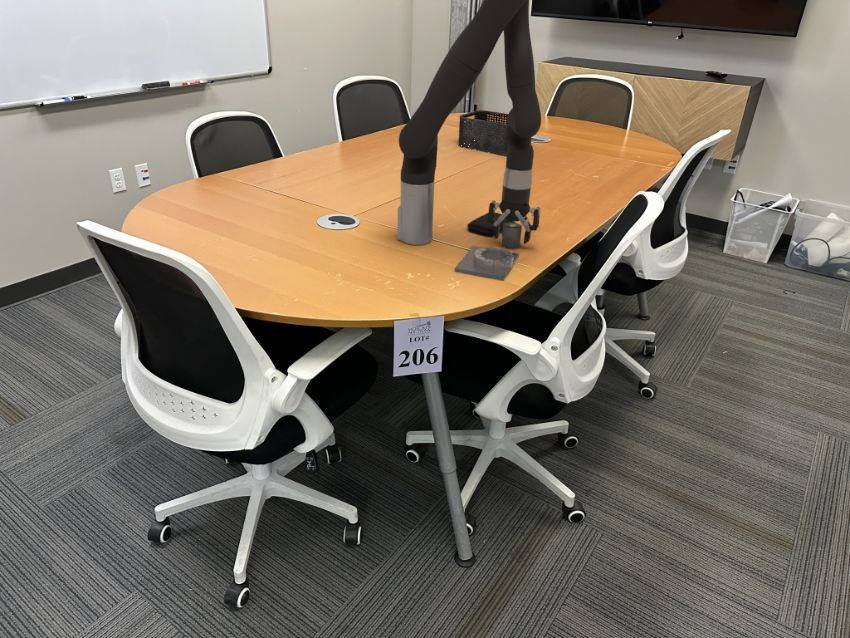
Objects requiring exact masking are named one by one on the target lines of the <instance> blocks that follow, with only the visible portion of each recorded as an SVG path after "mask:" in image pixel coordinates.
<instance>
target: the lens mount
mask: <svg viewBox="0 0 850 638" xmlns="http://www.w3.org/2000/svg"><path fill="white" fill-rule="evenodd" d="M519 257H520V253H517V252H511V251H510V250H509V249H506V248H504V247H497V246H496V247H495V246H485V247H483V246H477V245H473V246H472V247H471V248H470V249H469V250H468V251H467V252H466V253H465V255H464V256H463V257H462V259H461V260H460V261H459V262H458V263H457V265H456V266H455V267H454V272H456V273H459V274H460V273H461V274H466V275H471V276H476V277H482V278H487V279H491V280H498V281H503V282H504V281H505V280H506V278H507V277H508V276H509V274H510V272H511V270H512V269H513V267H514V266H515V264H516V262H517V260H518V259H519Z"/></svg>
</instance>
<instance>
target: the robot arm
mask: <svg viewBox="0 0 850 638" xmlns="http://www.w3.org/2000/svg"><path fill="white" fill-rule="evenodd" d="M529 10H530V0H482V2H481V4H480V6H479V8H478V10H477V12H476V14H475V15H474V16H473V18H472V19H471V20H470V22H469V23H468V24H467V25H466V26H465V27H464V29H463V30H462V31H461V32H460V34H459V35H458V37H456V39H455V41H454V42H453V44H452V45H451V47H450V48H449V49H448V51H447V54H446V55H445V57H444V58H443V60H442V61H441V63H440V65H439V68H438V69H437V71H436V73H435V75H434V77H433V78H432V81H431V82H430V85H429V87H428V89H427V92H426V94H425V96H424V98H423V99H422V102H421V103H420V104H419V106H418V108H417V109H416V110H415V112H414V113H413V115H412V116H411V117H410V118H409V120H408V121H407V123H406V124H405V125H404V126H403V127H402V128H401V130H400V132H399V135H398V145H399V148H400V151H401V153H402V155H403V157H402V158H403V159H402V165H401V169H400V205H399V206H398V207H397V241H401V242H403V243H405V244H407V245H413V246H415V245H416V246H419V245H420V246H421V245H426V244H428V243H430V242H432V241H433V228H434V227H433V225H434V204H435V203H434V201H435V177H436V176H435V175H436V169H437V159H438V145H439V144H438V141H439V139H438V137H439V136H438V134H439V133H440V130H441V129H442V127H443V125H444V123H445V122H446V120H447V118H448V117H449V116H450V114H451V113H452V112H453V111H454V110H455V109H456V107H457V106H458V105H459V103H460V102H461V101H463V99H464V97H465V96H466V95H467V93H468V92H469V91H470V89H471V88H472V86H473V85H474V83H475V81H477V79H478V77H479V76H480V74H481V73H482V71H483V69H484V68H485V65H486V64H487V62H488V60H489V58H490V57H491V55H492V53H493V51H494V48H495V47H496V45H497V43H498V41H499V39H500V37H501V35H502V33H503V44H504V70H505V82H506V91H507V92H506V93H507V94H508V97H509V99H510V100H511V104H512V108H511V109H510V110H509V112H508V113H507V114H508V117H507V122H505V123H506V135H507V147H508V150H507V156H506V157H505V159H506V160H505V168H504V173H503V178H502V179H503V180H502V182H503V183H502V191H501V201H500V202H496V200H492V201H491V202H490V203H489V206H488V212H487V213H488V221H487V222H488V223H491V224H493V226H494V229H493V236H492V237H494V239H495V240H498V239H499V237H500V233H501V232H500V225H499V224H500V222H501V221H502V220H503V219H504V218H506V219H507V220H513V221H515V222H516V223H518V222H520V224H521V225H522V227H523V229H524V230H525V231H524V236H523V244H524V245H527V244H528V243H529V242H530V241H531V237H532V236H531V235H532V231H533V232H535V231H538V228H540V227H539V226H540V225H539V224H540V216H541V215H540V214H541V208H540V207H538V206H537V207H531V206H530V197H531V189H532V184H533V164H534V154H535V152H534V151H535V150H534V147H533V145H532V139H531V138H532V137H534V136H536V134H538V132H539V131H540V129H541V126H542V113H541V112H542V111H541V108H540V103H539V98H538V95H537V94H538V93H537V91H536V75H535V73H536V71H535V61H534V52H533V47H532V40H531V32H530V31H531V30H530V16H529V15H530V14H529V12H530V11H529ZM498 208H499V210H500V212H501V214H502V215H501V216H500V217H499V218H498V219H497V220H496V219H494V214H495V213H496V211H497V210H498ZM528 213H530V214H531V216H532V218H533V219H532V224H531V222H530V219H529V217H528ZM499 232H500V233H499Z"/></svg>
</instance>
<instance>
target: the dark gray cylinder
mask: <svg viewBox="0 0 850 638" xmlns="http://www.w3.org/2000/svg"><path fill="white" fill-rule="evenodd" d="M522 230H523V225H522V224H521V223H518V222H515V223H514V222H508V223H505V224H503V231H502V236H501V243H500V244H501V245H500V246H501V248H503V249H506V250H517V249H519V248H520V247H521V238H522Z"/></svg>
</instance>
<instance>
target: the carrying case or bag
mask: <svg viewBox="0 0 850 638" xmlns="http://www.w3.org/2000/svg"><path fill="white" fill-rule="evenodd" d="M501 215H502V213H499V212H495V214H494V219H496V220H497V219H498V218H499V217H500V216H501ZM487 221H488V212H487V213H484V214H483V215H481V216H478V217H477V218H475V219H473V220H472V221H470V222H469V223H467V226H466V227H467V230H468V231H470V232H472V233H474V234H475V233H476V234H480V235H483V236H486V237H494V236H493V229H494V226H493V224H491V223H488V222H487ZM508 222H514V223H516V221H513V220H507V219H506V218H504V219H503V220H502V221H501V222H500V224H499V225H500V232H499V234H500V233H501V232H503V224H505V223H508Z"/></svg>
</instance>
